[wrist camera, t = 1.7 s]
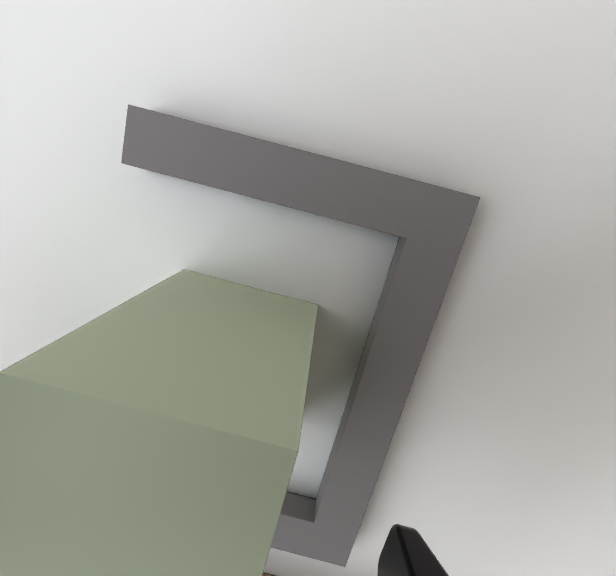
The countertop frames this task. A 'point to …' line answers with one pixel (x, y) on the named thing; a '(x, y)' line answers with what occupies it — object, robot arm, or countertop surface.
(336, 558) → the bracket
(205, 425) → the pale green block
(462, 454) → the countertop surface
